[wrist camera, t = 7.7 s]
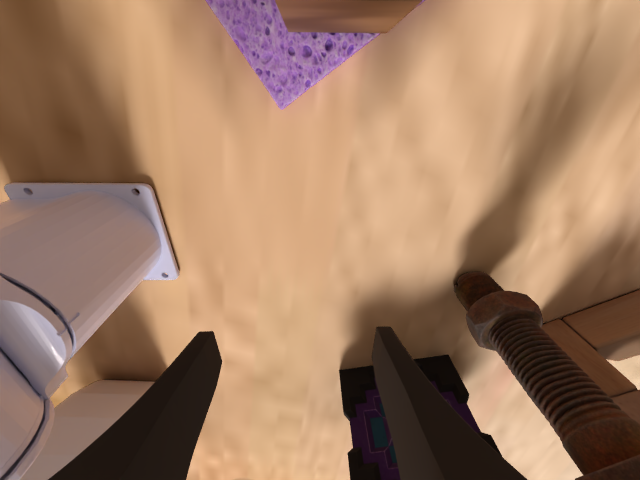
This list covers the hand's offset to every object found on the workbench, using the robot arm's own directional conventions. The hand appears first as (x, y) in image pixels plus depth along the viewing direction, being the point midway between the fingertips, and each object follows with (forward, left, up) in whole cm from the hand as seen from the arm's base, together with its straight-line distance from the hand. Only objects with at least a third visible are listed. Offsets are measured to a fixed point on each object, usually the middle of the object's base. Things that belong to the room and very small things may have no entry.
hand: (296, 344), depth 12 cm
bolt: (+15, -5, -10) cm, 18 cm away
